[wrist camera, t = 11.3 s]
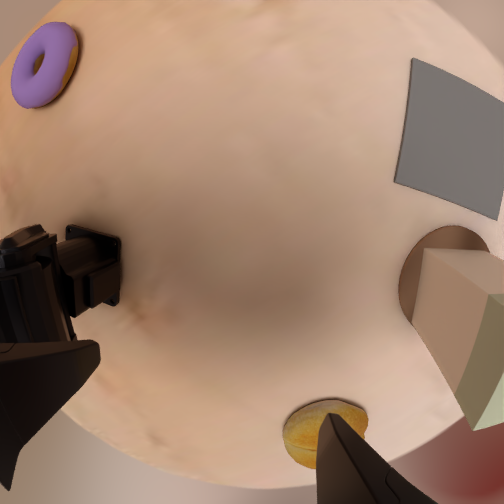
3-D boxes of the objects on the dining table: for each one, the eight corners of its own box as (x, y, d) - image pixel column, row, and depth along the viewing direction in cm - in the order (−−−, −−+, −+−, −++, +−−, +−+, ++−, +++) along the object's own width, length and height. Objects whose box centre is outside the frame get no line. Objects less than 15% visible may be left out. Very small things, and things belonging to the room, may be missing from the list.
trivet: (382, 322, 21) (384, 326, 21) (418, 211, 19) (421, 212, 18) (465, 337, 20) (467, 340, 20) (501, 242, 18) (505, 243, 17)
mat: (393, 181, 19) (395, 182, 18) (411, 59, 16) (413, 57, 15) (494, 219, 17) (497, 220, 17) (509, 108, 15) (511, 107, 14)
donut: (19, 68, 21) (-4, 56, 16) (80, 20, 20) (61, 1, 15) (31, 130, 22) (2, 122, 17) (99, 78, 22) (75, 59, 17)
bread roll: (370, 392, 23) (376, 421, 20) (359, 447, 25) (362, 475, 22) (281, 397, 25) (277, 427, 21) (285, 451, 27) (281, 478, 23)
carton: (411, 322, 20) (472, 431, 9) (423, 247, 19) (522, 322, 7) (469, 319, 19) (543, 406, 8) (484, 250, 18) (585, 311, 6)
